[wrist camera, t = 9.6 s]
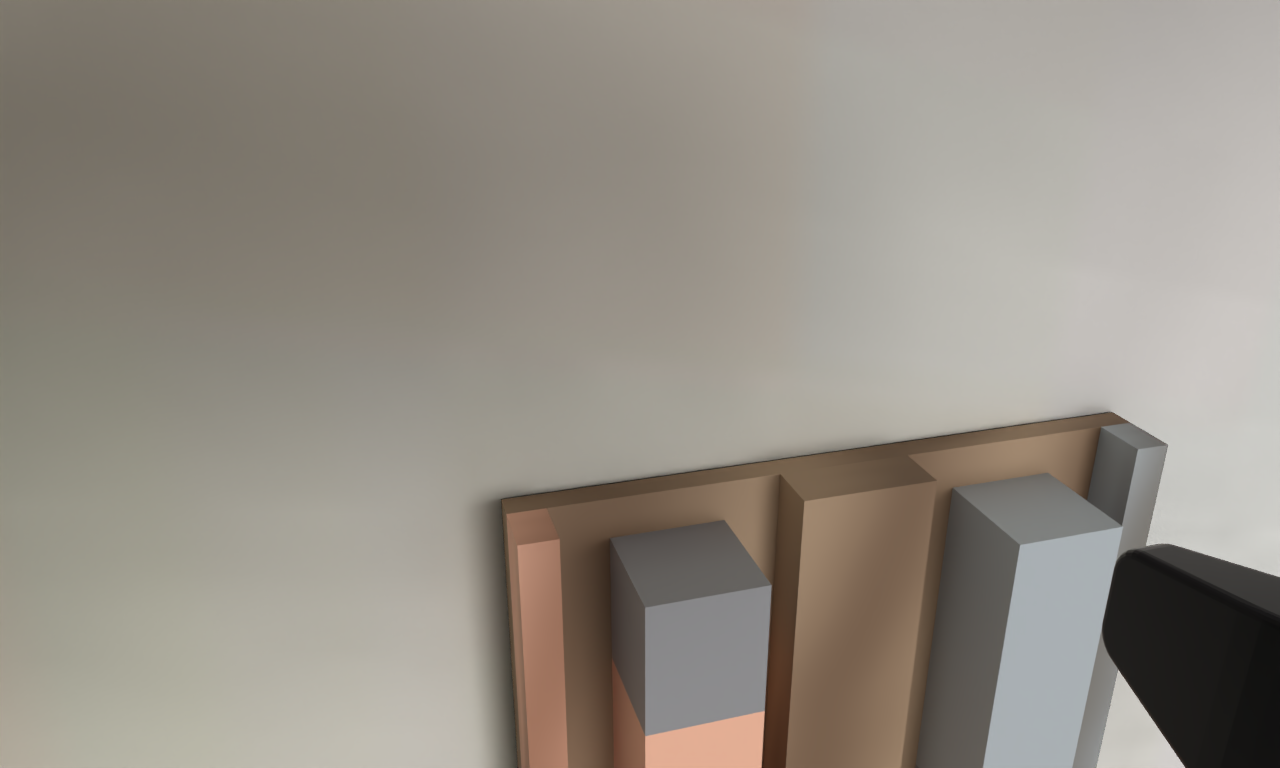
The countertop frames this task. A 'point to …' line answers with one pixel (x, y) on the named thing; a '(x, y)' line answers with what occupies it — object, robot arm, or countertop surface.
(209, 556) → the countertop surface
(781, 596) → the cord caddy
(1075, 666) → the grey square bar
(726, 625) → the two-tone eraser
